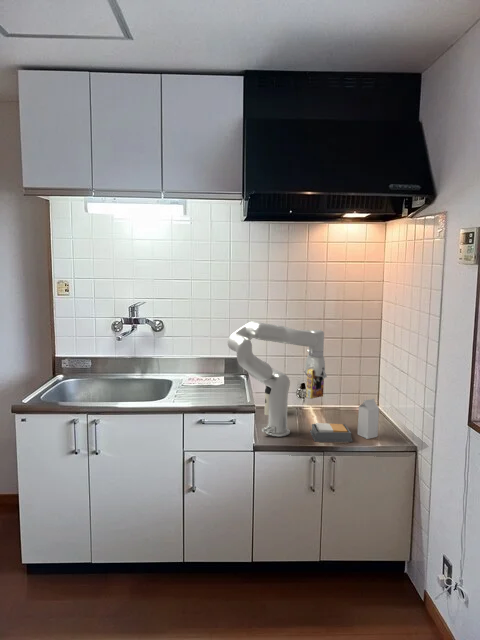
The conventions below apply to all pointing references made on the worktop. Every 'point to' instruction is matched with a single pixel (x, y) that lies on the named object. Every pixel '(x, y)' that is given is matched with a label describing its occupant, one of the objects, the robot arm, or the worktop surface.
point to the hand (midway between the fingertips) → (314, 387)
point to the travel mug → (267, 400)
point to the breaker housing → (330, 435)
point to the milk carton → (368, 419)
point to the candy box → (313, 385)
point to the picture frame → (330, 427)
